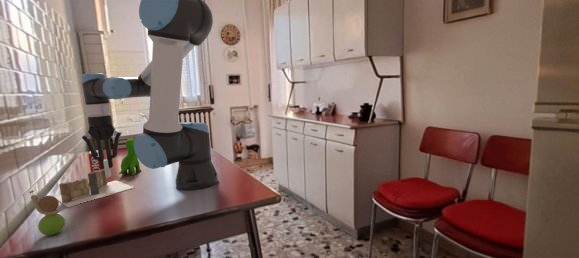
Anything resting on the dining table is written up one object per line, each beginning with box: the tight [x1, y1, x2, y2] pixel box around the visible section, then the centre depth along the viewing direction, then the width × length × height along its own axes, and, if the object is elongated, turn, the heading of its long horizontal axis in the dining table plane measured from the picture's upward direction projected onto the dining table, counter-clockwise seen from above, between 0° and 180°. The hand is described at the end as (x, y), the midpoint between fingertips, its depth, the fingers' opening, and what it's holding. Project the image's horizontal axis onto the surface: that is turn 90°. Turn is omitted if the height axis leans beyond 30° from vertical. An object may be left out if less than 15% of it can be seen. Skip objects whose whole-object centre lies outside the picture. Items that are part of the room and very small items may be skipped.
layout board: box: [54, 179, 135, 208], centre depth 110 cm, size 16×21×1 cm
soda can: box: [88, 149, 103, 173], centre depth 125 cm, size 5×5×12 cm
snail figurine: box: [28, 190, 66, 236], centre depth 78 cm, size 5×6×12 cm
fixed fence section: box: [58, 172, 99, 204], centre depth 104 cm, size 11×3×8 cm, turn 141°
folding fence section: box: [96, 169, 108, 189], centre depth 113 cm, size 9×3×6 cm, turn 16°
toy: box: [118, 137, 142, 176], centre depth 131 cm, size 6×14×15 cm, turn 174°
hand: (108, 176), depth 117 cm, fingers closed
